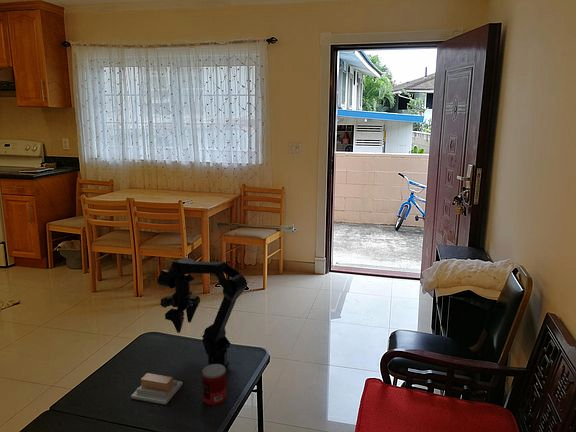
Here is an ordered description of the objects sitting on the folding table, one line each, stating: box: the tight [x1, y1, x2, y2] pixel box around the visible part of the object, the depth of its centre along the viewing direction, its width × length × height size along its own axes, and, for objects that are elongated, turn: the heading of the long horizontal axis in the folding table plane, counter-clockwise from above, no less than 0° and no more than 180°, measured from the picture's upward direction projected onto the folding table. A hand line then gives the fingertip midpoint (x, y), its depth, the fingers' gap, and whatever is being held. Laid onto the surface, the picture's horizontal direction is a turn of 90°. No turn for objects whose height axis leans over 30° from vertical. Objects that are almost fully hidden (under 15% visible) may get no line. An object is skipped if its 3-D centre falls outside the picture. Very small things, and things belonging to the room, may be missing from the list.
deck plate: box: [130, 379, 184, 405], centre depth 158 cm, size 13×12×2 cm
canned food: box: [201, 364, 227, 407], centre depth 153 cm, size 8×8×11 cm
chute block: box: [140, 372, 174, 394], centre depth 158 cm, size 10×4×4 cm, turn 75°
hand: (184, 327), depth 180 cm, fingers open, 9 cm apart
